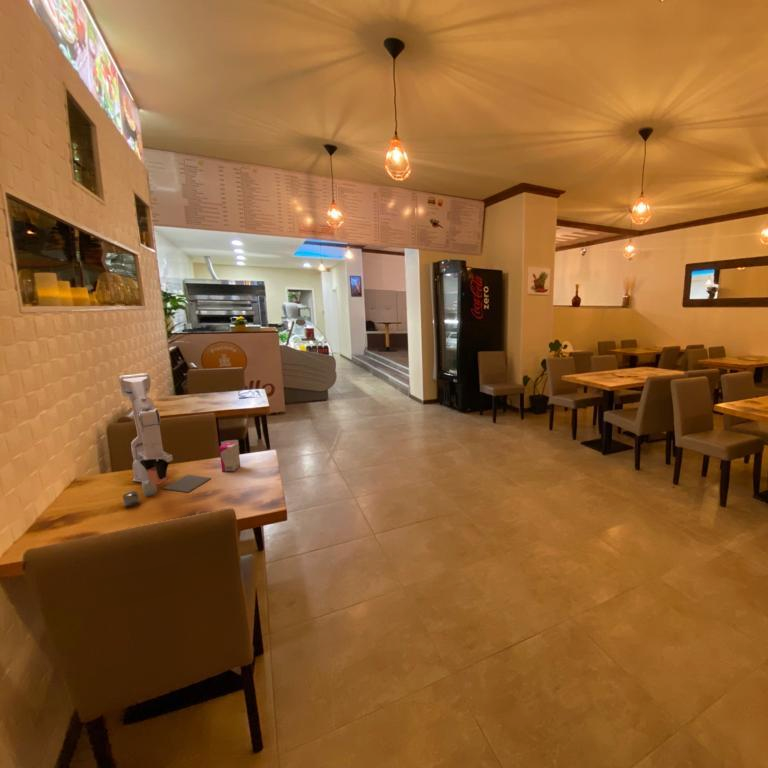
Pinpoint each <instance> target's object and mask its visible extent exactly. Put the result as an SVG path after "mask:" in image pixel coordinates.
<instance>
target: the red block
mask: <svg viewBox="0 0 768 768" xmlns="http://www.w3.org/2000/svg"><path fill="white" fill-rule="evenodd" d="M147 471H148V477H149V483H153V484H156V485H159V484H161V483H163V482H166V480H168V477H167V476H168V475H167V474H166V477H165V478H163V479H159V476H158V472H157V469H156V467H153V468H151V469H149V470H147Z"/></svg>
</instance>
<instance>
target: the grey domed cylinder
mask: <svg viewBox="0 0 768 768" xmlns="http://www.w3.org/2000/svg"><path fill="white" fill-rule="evenodd" d="M157 487H158V486H157V484H153V483H149V479H147V480H145V481H143V482H141V488H142V493H143V496H144V497H151V496H154V495H156V494H157V493H158V490H157Z"/></svg>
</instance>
